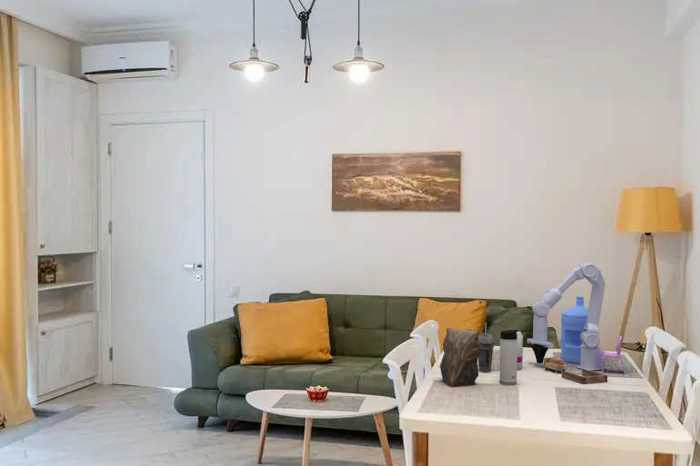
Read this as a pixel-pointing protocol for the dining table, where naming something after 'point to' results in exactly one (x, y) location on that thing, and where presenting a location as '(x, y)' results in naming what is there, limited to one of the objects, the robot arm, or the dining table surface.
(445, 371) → the brown rough lump
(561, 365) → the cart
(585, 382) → the bay
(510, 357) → the travel mug
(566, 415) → the dining table surface
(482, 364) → the beverage cup
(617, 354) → the toy chair
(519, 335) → the supplement can
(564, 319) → the water jug
